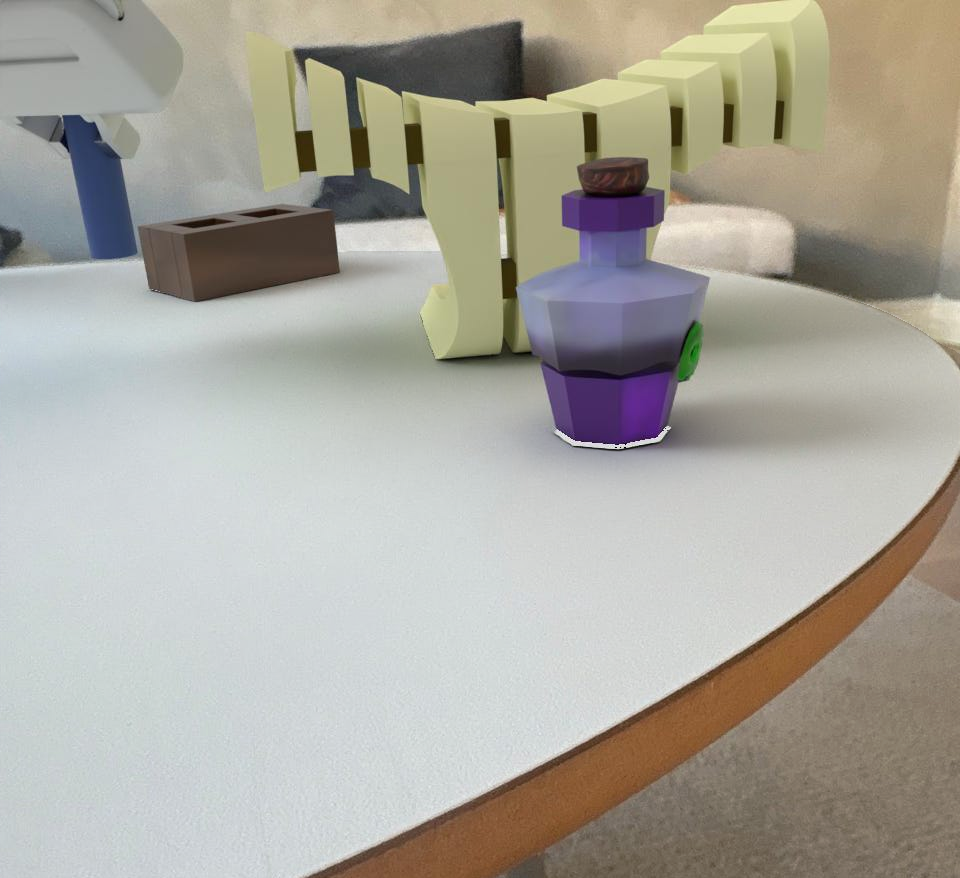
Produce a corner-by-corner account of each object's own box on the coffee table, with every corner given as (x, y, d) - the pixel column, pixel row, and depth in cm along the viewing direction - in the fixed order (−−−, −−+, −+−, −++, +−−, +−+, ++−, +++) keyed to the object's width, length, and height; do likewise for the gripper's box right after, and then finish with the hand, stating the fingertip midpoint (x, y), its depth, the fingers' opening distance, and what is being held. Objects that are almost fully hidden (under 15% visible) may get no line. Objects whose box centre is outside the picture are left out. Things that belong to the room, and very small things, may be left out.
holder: (149, 289, 89) (136, 226, 87) (290, 262, 97) (282, 203, 94) (194, 301, 83) (183, 234, 81) (340, 272, 91) (333, 209, 89)
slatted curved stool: (290, 387, 61) (242, 29, 53) (297, 323, 75) (260, 33, 67) (806, 342, 64) (836, -5, 55) (719, 288, 78) (732, 5, 70)
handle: (83, 256, 67) (42, 59, 62) (125, 249, 69) (89, 56, 64) (102, 261, 66) (62, 58, 61) (145, 254, 67) (109, 55, 62)
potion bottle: (720, 457, 47) (735, 163, 42) (523, 466, 48) (512, 175, 42) (689, 399, 55) (698, 144, 50) (519, 406, 55) (510, 154, 50)
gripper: (95, -118, 49) (258, 102, 61) (-188, -77, 58) (3, 109, 70) (43, -6, 48) (220, 197, 60) (-240, 19, 56) (-35, 192, 69)
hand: (101, 150), depth 65 cm, fingers closed on handle, 3 cm apart
